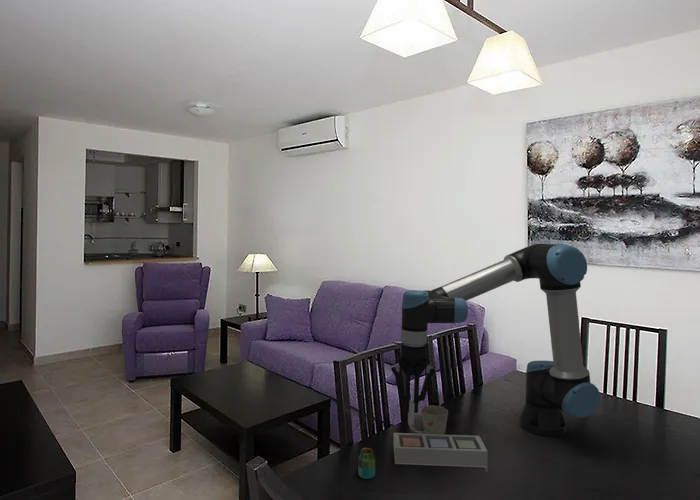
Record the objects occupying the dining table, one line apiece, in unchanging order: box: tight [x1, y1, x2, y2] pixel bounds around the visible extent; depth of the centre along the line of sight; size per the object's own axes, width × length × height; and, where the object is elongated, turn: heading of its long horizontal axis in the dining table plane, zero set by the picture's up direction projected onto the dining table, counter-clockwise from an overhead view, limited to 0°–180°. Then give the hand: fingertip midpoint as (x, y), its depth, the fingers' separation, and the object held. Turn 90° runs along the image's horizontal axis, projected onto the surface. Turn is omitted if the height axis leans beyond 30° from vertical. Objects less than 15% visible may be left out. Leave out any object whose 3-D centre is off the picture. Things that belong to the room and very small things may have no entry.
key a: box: [456, 440, 477, 449], centre depth 137 cm, size 5×5×2 cm
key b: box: [429, 439, 449, 448], centre depth 138 cm, size 5×5×2 cm
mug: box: [408, 405, 449, 435], centre depth 151 cm, size 8×13×10 cm, turn 78°
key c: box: [402, 438, 421, 447], centre depth 138 cm, size 5×5×2 cm
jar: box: [357, 447, 376, 480], centre depth 127 cm, size 5×5×8 cm
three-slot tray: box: [392, 432, 489, 473], centre depth 138 cm, size 26×11×6 cm, turn 88°
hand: (410, 423), depth 138 cm, fingers closed
